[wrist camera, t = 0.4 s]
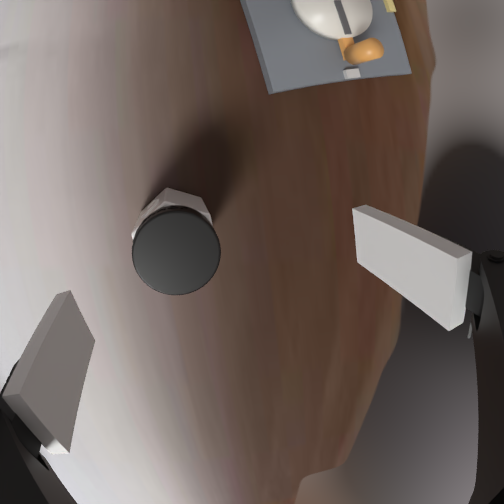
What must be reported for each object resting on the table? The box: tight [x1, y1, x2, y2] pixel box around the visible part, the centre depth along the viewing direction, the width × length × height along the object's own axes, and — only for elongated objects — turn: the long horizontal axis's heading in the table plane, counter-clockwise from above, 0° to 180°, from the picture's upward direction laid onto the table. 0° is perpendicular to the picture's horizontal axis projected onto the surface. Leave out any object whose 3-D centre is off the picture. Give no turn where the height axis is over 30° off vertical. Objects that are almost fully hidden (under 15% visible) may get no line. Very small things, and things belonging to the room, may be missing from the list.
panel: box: [240, 0, 412, 94], centre depth 33 cm, size 22×22×3 cm
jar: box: [132, 188, 221, 295], centre depth 34 cm, size 9×8×12 cm
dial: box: [291, 0, 384, 65], centre depth 30 cm, size 15×11×6 cm
